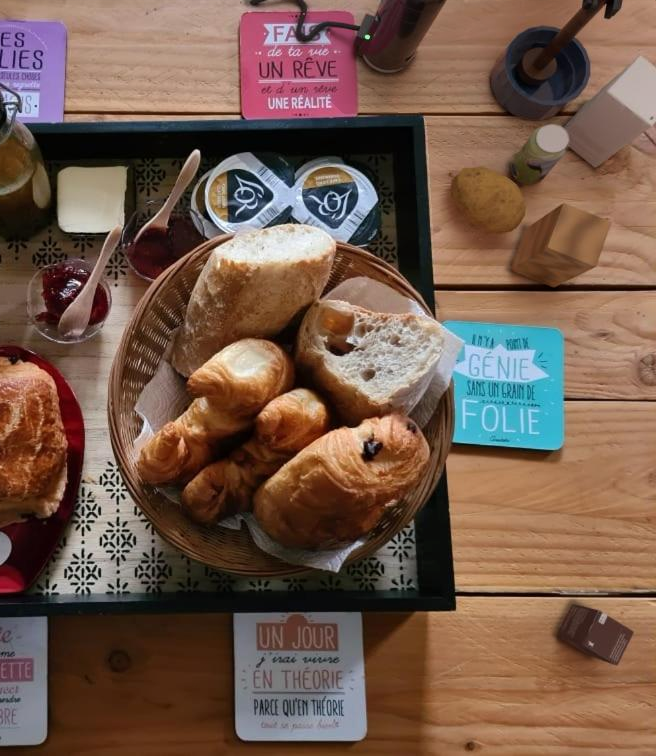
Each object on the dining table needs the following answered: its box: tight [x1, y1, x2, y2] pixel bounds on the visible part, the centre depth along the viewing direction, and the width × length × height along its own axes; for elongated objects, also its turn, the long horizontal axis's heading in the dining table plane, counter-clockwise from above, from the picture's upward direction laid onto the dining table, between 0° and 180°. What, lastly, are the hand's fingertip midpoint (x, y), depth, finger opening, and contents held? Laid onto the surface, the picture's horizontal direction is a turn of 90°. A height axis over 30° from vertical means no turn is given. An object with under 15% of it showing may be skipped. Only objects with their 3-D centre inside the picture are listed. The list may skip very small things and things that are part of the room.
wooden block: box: [509, 202, 612, 288], centre depth 120 cm, size 8×8×12 cm
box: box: [556, 603, 635, 666], centre depth 114 cm, size 6×6×7 cm
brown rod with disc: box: [517, 0, 610, 86], centre depth 118 cm, size 6×6×22 cm
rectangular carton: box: [563, 54, 656, 168], centre depth 122 cm, size 9×9×15 cm
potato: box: [450, 165, 527, 235], centre depth 123 cm, size 10×13×9 cm
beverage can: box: [510, 123, 570, 186], centre depth 123 cm, size 6×7×12 cm
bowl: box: [490, 25, 591, 121], centre depth 128 cm, size 15×15×6 cm
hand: (600, 12), depth 109 cm, fingers closed on brown rod with disc, 2 cm apart
